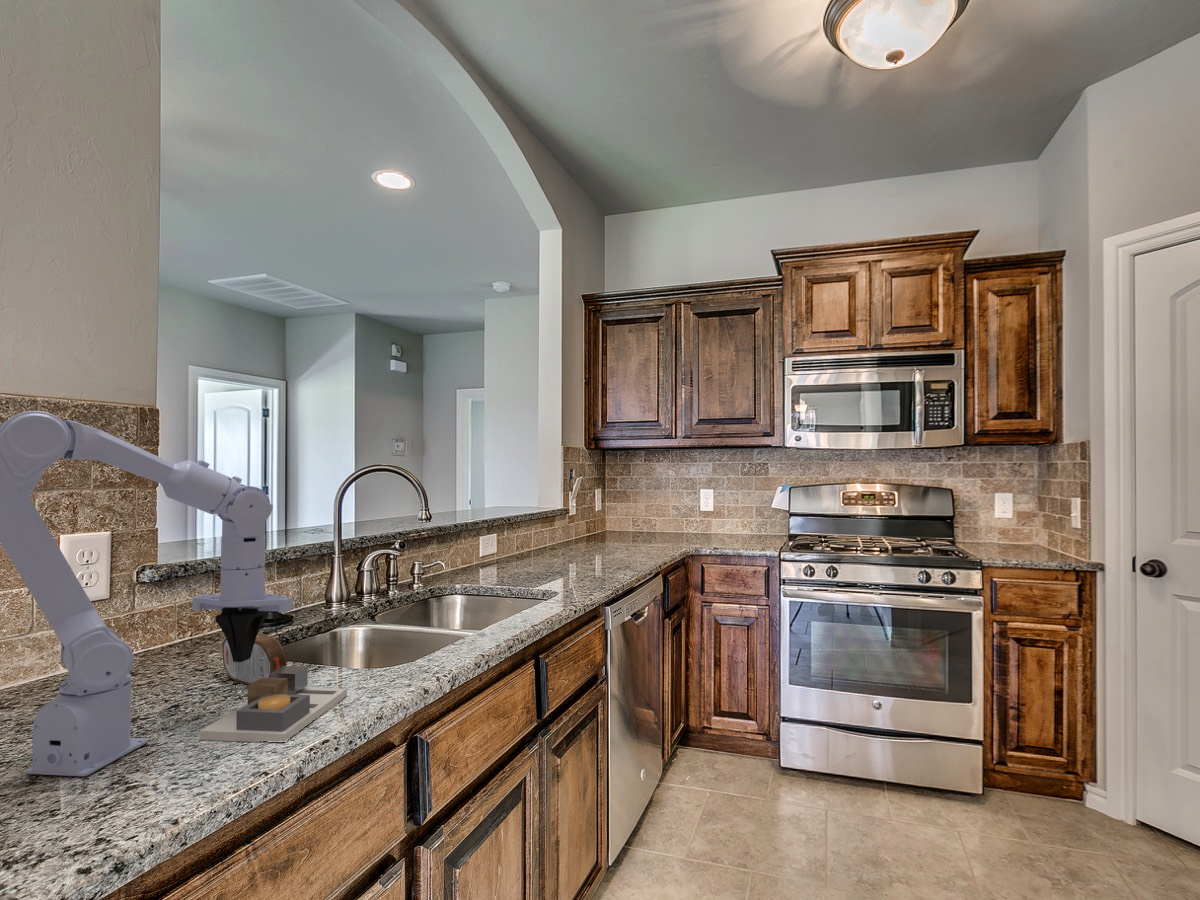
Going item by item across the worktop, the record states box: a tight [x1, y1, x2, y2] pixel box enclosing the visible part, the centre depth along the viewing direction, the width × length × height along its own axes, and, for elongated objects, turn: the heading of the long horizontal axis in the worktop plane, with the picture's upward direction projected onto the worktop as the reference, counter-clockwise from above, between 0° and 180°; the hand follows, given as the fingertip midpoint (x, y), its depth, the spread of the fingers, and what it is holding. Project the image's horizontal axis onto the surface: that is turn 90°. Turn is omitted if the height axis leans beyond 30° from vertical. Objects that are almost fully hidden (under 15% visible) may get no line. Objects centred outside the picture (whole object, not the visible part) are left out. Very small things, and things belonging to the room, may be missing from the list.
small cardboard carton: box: [247, 678, 288, 704], centre depth 94 cm, size 4×4×3 cm
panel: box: [199, 686, 348, 743], centre depth 93 cm, size 17×12×4 cm
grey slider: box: [271, 665, 308, 693], centre depth 100 cm, size 4×4×3 cm
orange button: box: [258, 694, 290, 710], centre depth 88 cm, size 4×4×2 cm
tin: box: [221, 632, 287, 686], centre depth 107 cm, size 15×3×8 cm, turn 59°
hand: (241, 659), depth 93 cm, fingers closed
